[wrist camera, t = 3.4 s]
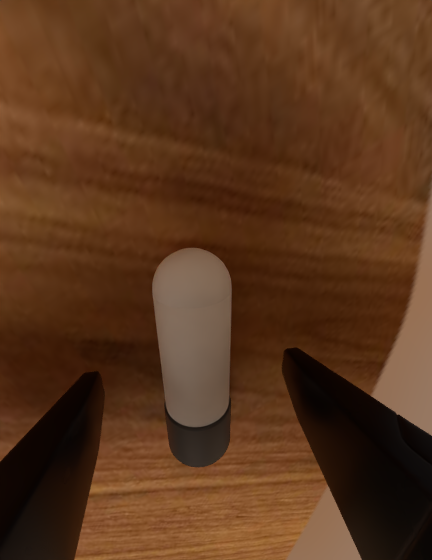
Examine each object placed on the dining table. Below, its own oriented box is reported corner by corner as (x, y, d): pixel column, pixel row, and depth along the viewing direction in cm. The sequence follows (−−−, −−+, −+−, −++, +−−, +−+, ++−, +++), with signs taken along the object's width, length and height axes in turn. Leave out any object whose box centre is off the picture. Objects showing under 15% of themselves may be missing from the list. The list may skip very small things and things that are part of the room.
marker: (225, 235, 9) (245, 265, 7) (223, 414, 12) (235, 470, 10) (147, 239, 8) (143, 273, 6) (169, 423, 12) (170, 482, 10)
